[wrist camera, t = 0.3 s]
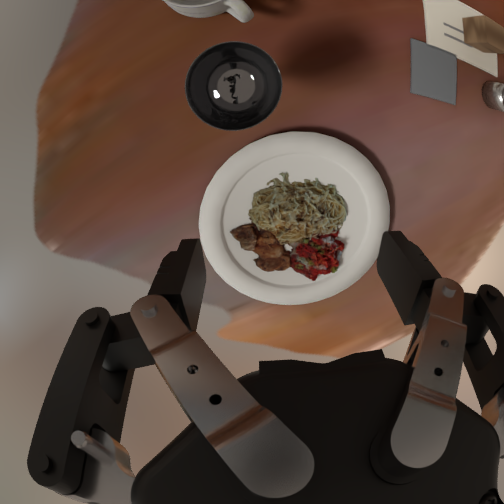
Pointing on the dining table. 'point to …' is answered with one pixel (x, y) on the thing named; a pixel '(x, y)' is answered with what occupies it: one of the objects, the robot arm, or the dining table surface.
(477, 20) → the walnut block
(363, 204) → the plated food
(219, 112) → the wine glass
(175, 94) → the dining table surface
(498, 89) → the tin
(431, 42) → the envelope
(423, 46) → the coaster
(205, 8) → the teacup
